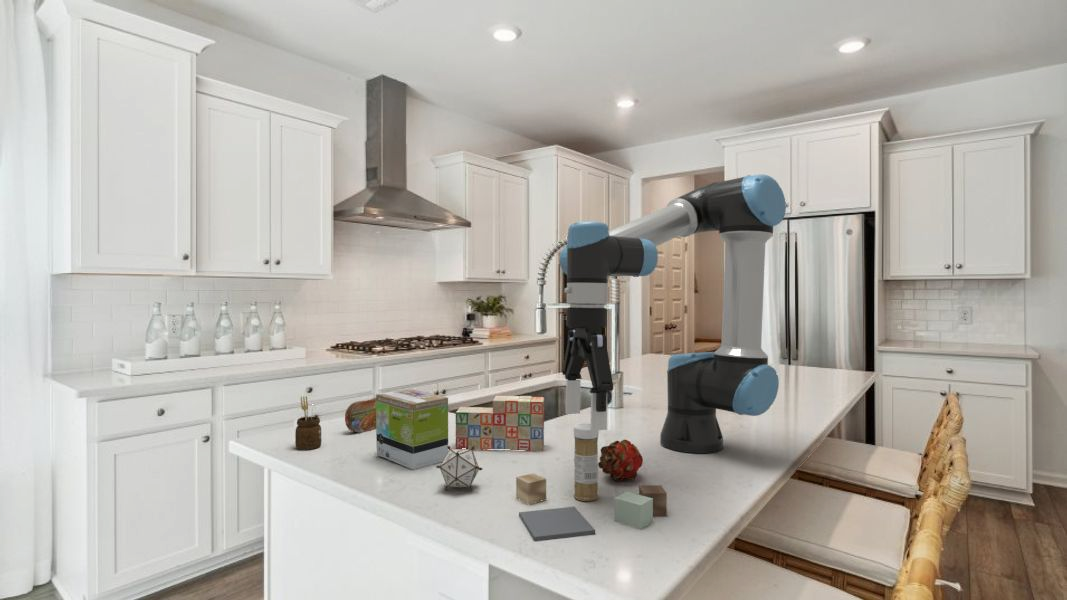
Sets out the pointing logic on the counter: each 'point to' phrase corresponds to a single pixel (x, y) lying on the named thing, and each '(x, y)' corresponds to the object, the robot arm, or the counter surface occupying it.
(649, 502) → the sage painted block
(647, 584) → the counter surface
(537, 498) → the oak block
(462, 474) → the game die
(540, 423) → the stack of blocks
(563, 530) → the slate mat
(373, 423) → the tin
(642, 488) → the walnut block
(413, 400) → the tea box
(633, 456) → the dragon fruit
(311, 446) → the utensil holder
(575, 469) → the sprinkles bottle
